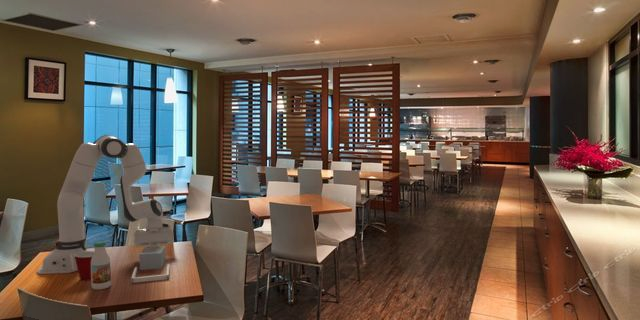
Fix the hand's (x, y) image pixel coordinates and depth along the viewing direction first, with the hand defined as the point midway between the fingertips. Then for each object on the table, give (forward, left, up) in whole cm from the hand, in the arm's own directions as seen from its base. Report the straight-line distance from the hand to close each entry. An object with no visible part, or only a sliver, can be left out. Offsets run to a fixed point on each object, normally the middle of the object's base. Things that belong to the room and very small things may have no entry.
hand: (154, 250), depth 237 cm
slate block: (0, -11, -5) cm, 12 cm away
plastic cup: (-28, -23, -5) cm, 36 cm away
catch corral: (0, -27, -4) cm, 27 cm away
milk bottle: (-20, -37, -5) cm, 43 cm away
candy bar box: (-43, +27, -5) cm, 51 cm away
